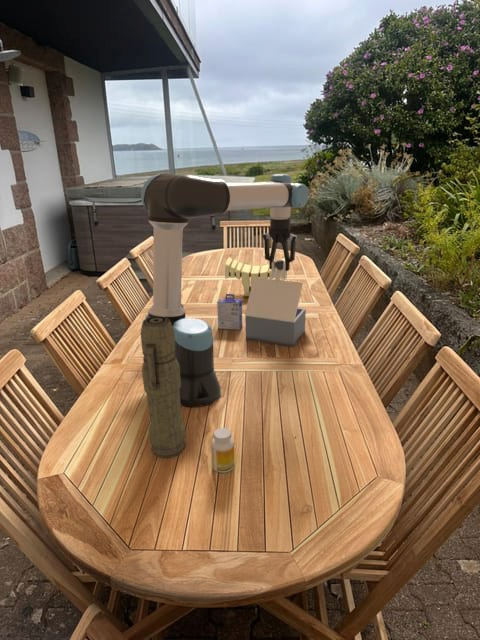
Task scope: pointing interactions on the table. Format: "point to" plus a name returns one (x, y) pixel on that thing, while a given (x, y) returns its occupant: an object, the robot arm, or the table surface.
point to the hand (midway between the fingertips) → (279, 277)
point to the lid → (274, 298)
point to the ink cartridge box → (229, 313)
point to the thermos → (162, 387)
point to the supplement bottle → (222, 450)
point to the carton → (276, 329)
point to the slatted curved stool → (247, 273)
